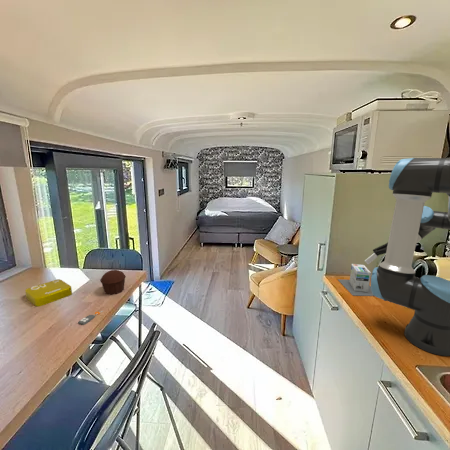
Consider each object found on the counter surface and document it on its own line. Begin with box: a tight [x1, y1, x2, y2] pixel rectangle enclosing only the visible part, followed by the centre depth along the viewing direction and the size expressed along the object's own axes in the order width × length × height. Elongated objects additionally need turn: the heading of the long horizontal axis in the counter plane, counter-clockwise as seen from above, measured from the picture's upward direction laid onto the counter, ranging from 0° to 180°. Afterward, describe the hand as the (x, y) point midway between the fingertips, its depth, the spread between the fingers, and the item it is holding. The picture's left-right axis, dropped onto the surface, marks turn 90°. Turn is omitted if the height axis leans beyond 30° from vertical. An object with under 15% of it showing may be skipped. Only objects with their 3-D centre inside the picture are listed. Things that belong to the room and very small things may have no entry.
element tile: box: [24, 278, 73, 307], centre depth 121 cm, size 15×15×5 cm
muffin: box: [99, 269, 127, 296], centre depth 126 cm, size 12×11×10 cm
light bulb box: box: [349, 263, 372, 292], centre depth 133 cm, size 11×7×11 cm, turn 168°
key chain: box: [77, 310, 104, 326], centre depth 106 cm, size 13×4×2 cm, turn 161°
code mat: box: [337, 278, 375, 297], centre depth 134 cm, size 18×14×1 cm
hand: (372, 267), depth 132 cm, fingers open, 13 cm apart
